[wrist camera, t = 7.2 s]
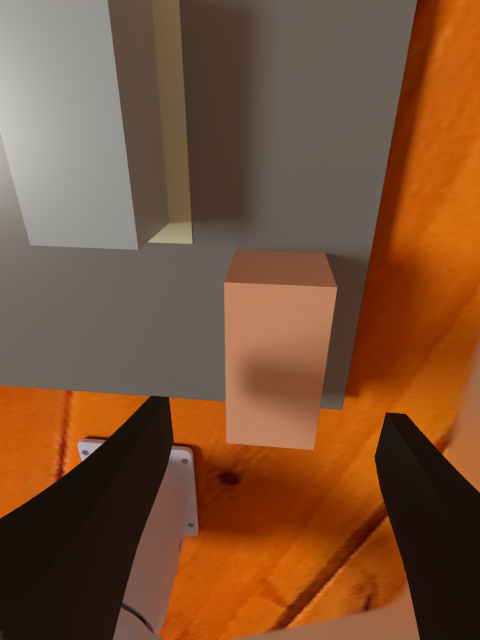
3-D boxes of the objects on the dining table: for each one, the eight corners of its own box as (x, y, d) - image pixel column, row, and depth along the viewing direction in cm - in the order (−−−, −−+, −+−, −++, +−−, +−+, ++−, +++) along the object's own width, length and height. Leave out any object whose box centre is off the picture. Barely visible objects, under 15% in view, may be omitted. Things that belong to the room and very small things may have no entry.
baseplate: (339, 395, 21) (342, 410, 20) (-26, 370, 23) (-41, 382, 22) (414, -40, 12) (427, -56, 11) (-188, -22, 14) (-228, -35, 13)
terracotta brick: (307, 393, 20) (313, 450, 16) (235, 388, 20) (226, 442, 17) (324, 252, 16) (337, 287, 13) (236, 249, 17) (224, 282, 13)
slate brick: (169, 223, 16) (138, 249, 13) (83, 220, 17) (30, 245, 13) (150, -12, 12) (99, -66, 9) (39, -10, 13) (-52, -62, 9)
